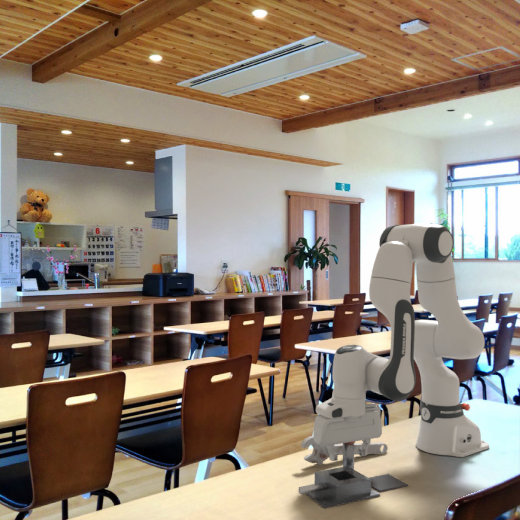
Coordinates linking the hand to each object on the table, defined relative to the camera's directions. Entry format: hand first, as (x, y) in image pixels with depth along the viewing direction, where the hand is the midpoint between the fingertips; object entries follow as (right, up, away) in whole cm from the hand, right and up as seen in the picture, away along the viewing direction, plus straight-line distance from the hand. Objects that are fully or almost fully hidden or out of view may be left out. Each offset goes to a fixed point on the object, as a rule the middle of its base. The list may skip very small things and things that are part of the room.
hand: (348, 457), depth 155 cm
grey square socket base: (-5, -5, -12) cm, 14 cm away
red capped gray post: (0, -5, 0) cm, 5 cm away
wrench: (+1, -5, +12) cm, 13 cm away
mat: (+9, -5, -5) cm, 11 cm away
